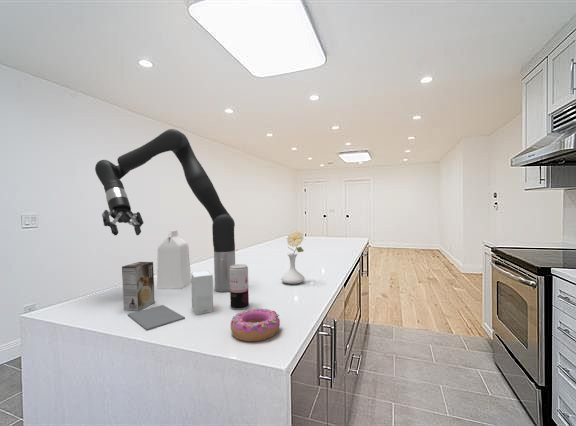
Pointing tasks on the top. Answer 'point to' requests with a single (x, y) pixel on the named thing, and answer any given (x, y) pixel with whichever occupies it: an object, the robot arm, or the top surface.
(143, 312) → the mat
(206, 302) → the small box
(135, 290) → the coffee box
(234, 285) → the beverage can
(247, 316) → the donut
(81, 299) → the top surface
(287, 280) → the flower in vase
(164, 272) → the milk
